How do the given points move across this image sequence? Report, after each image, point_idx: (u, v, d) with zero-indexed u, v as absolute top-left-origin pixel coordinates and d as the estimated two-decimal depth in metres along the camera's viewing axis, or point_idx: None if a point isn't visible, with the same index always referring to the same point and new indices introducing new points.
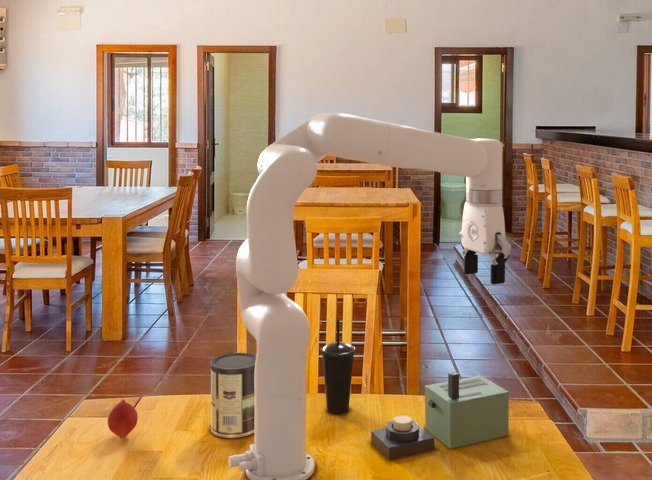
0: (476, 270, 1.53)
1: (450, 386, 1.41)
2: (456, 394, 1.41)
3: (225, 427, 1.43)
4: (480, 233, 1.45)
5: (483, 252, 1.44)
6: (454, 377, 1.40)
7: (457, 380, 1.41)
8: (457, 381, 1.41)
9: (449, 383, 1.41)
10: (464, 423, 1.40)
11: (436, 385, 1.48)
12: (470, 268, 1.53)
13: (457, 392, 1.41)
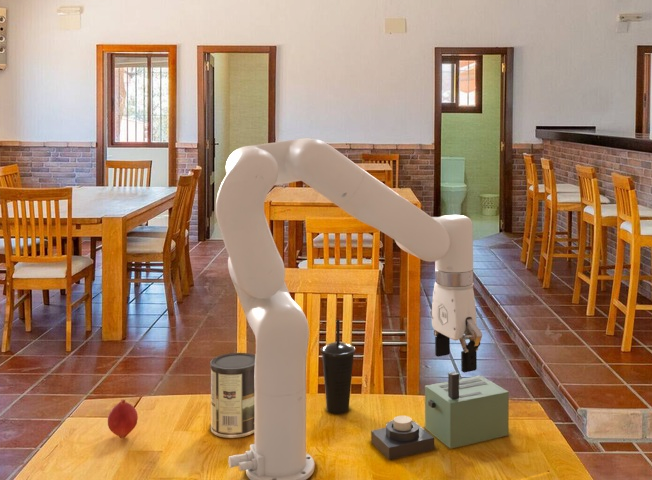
0: (448, 351, 1.46)
1: (450, 386, 1.41)
2: (456, 394, 1.41)
3: (225, 427, 1.43)
4: (450, 318, 1.38)
5: (453, 338, 1.37)
6: (454, 377, 1.40)
7: (457, 380, 1.41)
8: (457, 381, 1.41)
9: (449, 383, 1.41)
10: (464, 423, 1.40)
11: (436, 385, 1.48)
12: (441, 350, 1.45)
13: (457, 392, 1.41)
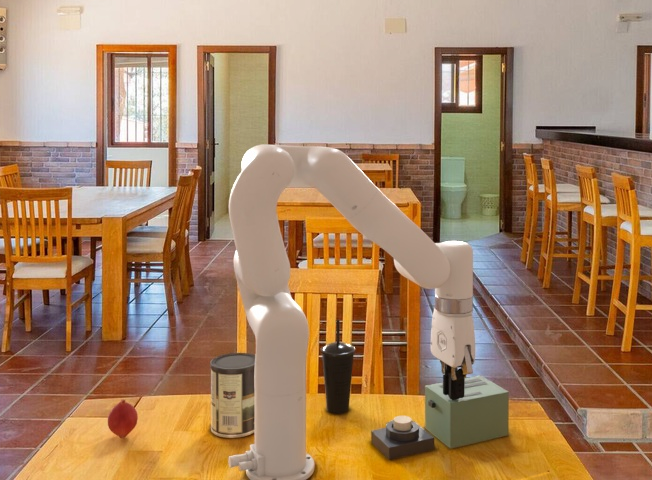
0: None
1: None
2: None
3: (225, 427, 1.43)
4: (449, 345, 1.38)
5: (452, 365, 1.37)
6: None
7: None
8: None
9: None
10: (464, 423, 1.40)
11: (436, 385, 1.48)
12: None
13: None
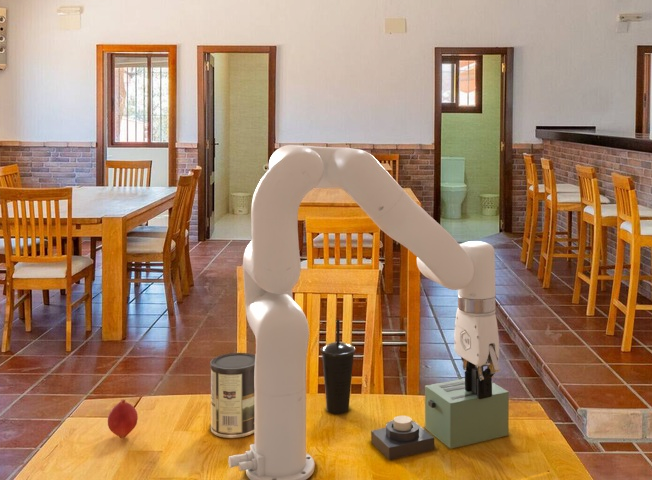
0: None
1: (473, 381, 1.43)
2: None
3: (225, 427, 1.43)
4: (473, 344, 1.40)
5: (476, 364, 1.39)
6: None
7: None
8: None
9: (473, 378, 1.44)
10: (464, 423, 1.40)
11: (436, 385, 1.48)
12: (471, 384, 1.45)
13: None
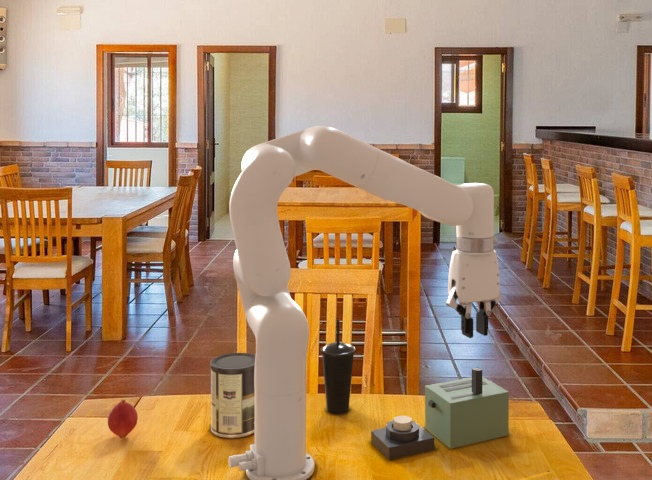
0: (483, 332, 1.43)
1: (473, 381, 1.43)
2: (479, 389, 1.43)
3: (225, 427, 1.43)
4: None
5: None
6: (478, 373, 1.43)
7: (480, 376, 1.43)
8: (480, 377, 1.43)
9: (473, 378, 1.44)
10: (464, 423, 1.40)
11: (436, 385, 1.48)
12: (479, 327, 1.44)
13: (480, 387, 1.43)
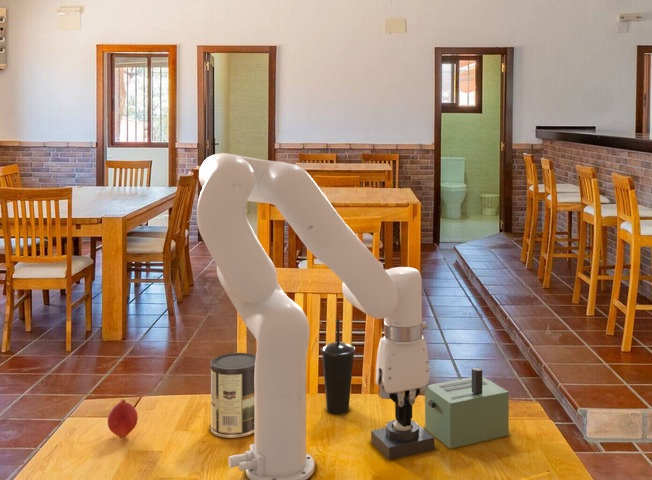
0: (406, 422, 1.39)
1: (473, 381, 1.43)
2: (479, 389, 1.43)
3: (225, 427, 1.43)
4: None
5: None
6: (478, 373, 1.43)
7: (480, 376, 1.43)
8: (480, 377, 1.43)
9: (473, 378, 1.44)
10: (464, 423, 1.40)
11: (436, 385, 1.48)
12: None
13: (480, 387, 1.43)
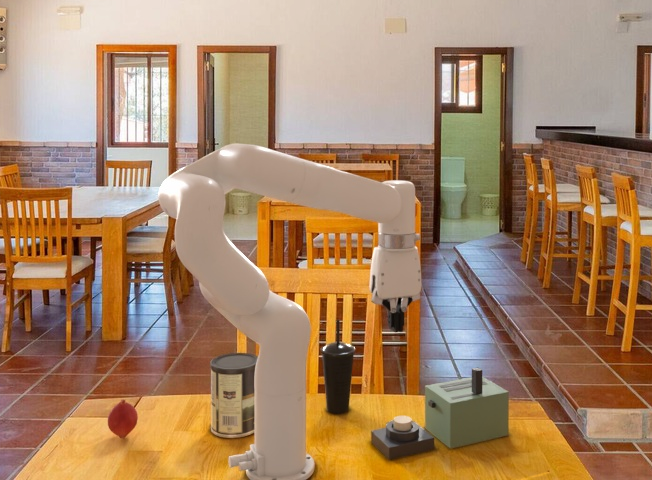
0: (398, 328, 1.44)
1: (473, 381, 1.43)
2: (479, 389, 1.43)
3: (225, 427, 1.43)
4: None
5: None
6: (478, 373, 1.43)
7: (480, 376, 1.43)
8: (480, 377, 1.43)
9: (473, 378, 1.44)
10: (464, 423, 1.40)
11: (436, 385, 1.48)
12: None
13: (480, 387, 1.43)
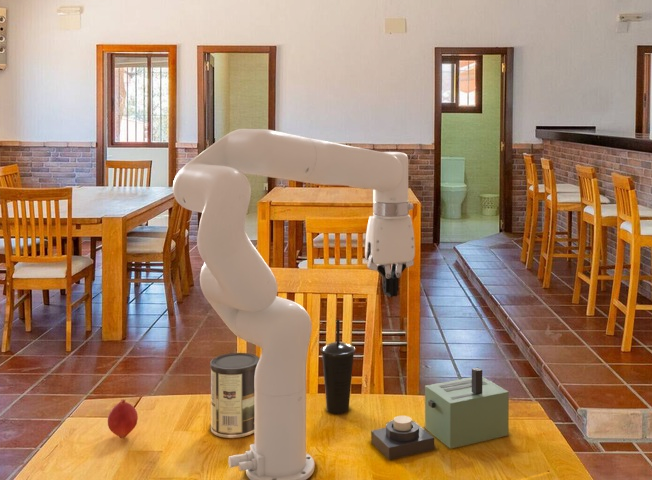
0: (393, 293, 1.50)
1: (473, 381, 1.43)
2: (479, 389, 1.43)
3: (225, 427, 1.43)
4: None
5: None
6: (478, 373, 1.43)
7: (480, 376, 1.43)
8: (480, 377, 1.43)
9: (473, 378, 1.44)
10: (464, 423, 1.40)
11: (436, 385, 1.48)
12: None
13: (480, 387, 1.43)
